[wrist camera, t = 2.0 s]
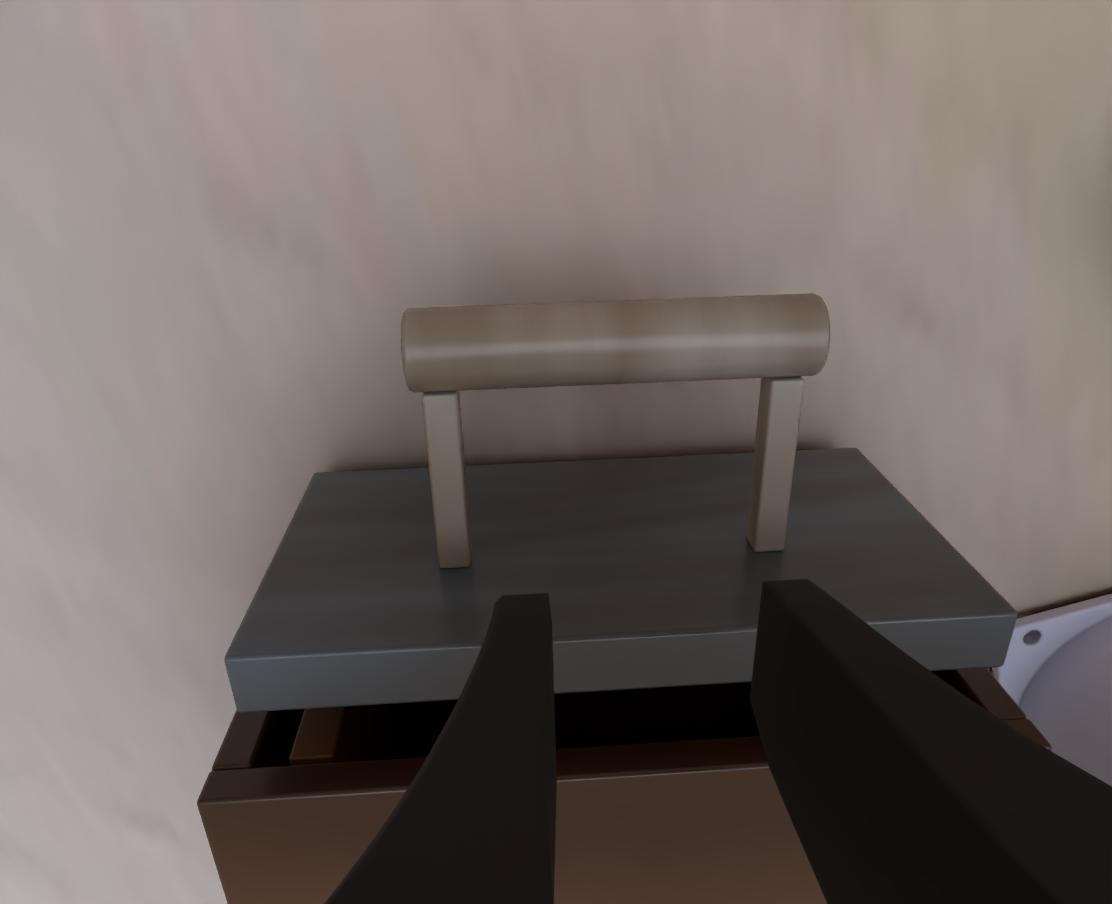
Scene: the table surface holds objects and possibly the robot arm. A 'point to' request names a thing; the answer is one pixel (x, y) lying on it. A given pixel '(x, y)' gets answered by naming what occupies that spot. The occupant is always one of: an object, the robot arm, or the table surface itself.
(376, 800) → the cabinet
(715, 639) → the drawer
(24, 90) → the table surface
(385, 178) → the table surface
